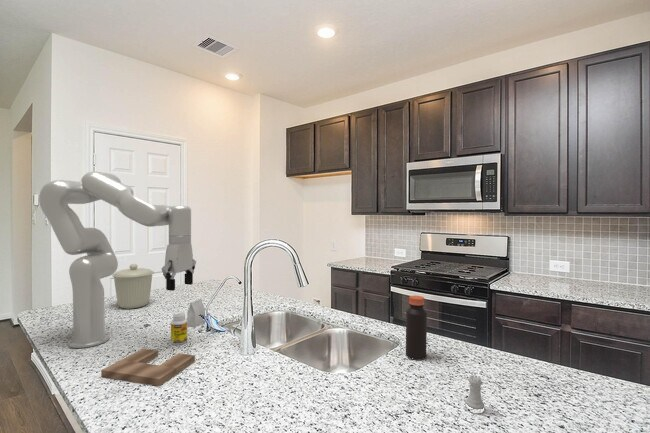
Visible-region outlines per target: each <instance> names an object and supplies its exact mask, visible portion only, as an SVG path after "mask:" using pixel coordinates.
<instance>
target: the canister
mask: <svg viewBox="0 0 650 433" xmlns="http://www.w3.org/2000/svg"><path fill="white" fill-rule="evenodd" d="M128 267H129V268H126V269H121V270H118V271H117V270H116V271H115V273H113V274H112V275H111V276H112V277H113V281H114V288H115V297H116V302H117V305H118V307H120V308H121V309H127V310H128V309H129V310H132V309H137V308H143V307H145V306H147V305H148V303H149V301H150V297H151V290H152V281H153V274H154V271H153V270H152V269H149V268H145V267H143V268H142V267H138V265H137V263H131V264H130V265H129V266H128Z"/></svg>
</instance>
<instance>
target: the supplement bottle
mask: <svg viewBox="0 0 650 433" xmlns="http://www.w3.org/2000/svg"><path fill="white" fill-rule="evenodd" d="M172 317H173V318H172V320H171V322H170V343H171V344H172V345H174V346H179V345H184V344H185V343H186V342H188V326H187V318H186V314H185V313H183V312H182V313H175V314H173V316H172Z"/></svg>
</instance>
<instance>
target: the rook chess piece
mask: <svg viewBox="0 0 650 433" xmlns="http://www.w3.org/2000/svg"><path fill="white" fill-rule="evenodd" d="M468 382H469V384H470V385H468V386H469V395H468V396H467V399H466V400H465V405H466V404H467V405H468V406H469V407H471V408H473V409H483V408H484V409H485V403H484V402H483V399H482V393H481V391H482V387H481V386H482V385H483V381H482V378H481V377H480V376H478V375H476V374H475V375H470V376H469V378H468Z"/></svg>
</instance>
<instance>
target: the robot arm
mask: <svg viewBox="0 0 650 433" xmlns="http://www.w3.org/2000/svg"><path fill="white" fill-rule="evenodd" d="M134 194H135V193H134V189H133V188H131V187H130V186H128V185H126V184H124V183H122V182H121V179H120V178H119V177H118V176H117V175H115V174H113V173H108V172H103V171H102V172H101V171H90V172H87V173H85V174H84V175H83V176H82V177H81V180H80V181H74V180H64V179H59V180H58V179H56V180H52V181H49V182H47V183H45V185H43V186H42V187H41V189H40V192H39V195H38V202H39V207H40V209H41V211H42V213H43V214H44V215H45V217H46V219H47V220H48V222H49V224H50V226H51V227H52V230H53V232H54V234H55V236H56V238H57V240H58V243H59V245H60V246H61V248H62V250H63V251H64V253H65V254H67V255H71V256H76V255H83V254H86V255H84V256H80V257H78V258H76V259H74V261H73V262H72V263H71V264H70V266H69V269H68V273H69V278H70V279H69V280H70V282H71V287H72V288H71V289H72V324H73V325H72V328H71V329H70V330H69V331H67V332H66V334H67V336H71V339H69V340H68V341H67V345H68V347H70V348H73V349H83V348H84V349H85V348H92V347H94V346H95V347H96V346H99V345H101V344H104V343H106V342H107V341H109V340H110V335H111V334H110V333H108V332H106V330H105V329H106V328H105V326H106V325H105V324H106V321H105V314H106V313H105V310H106V309H105V308H106V307H105V289H104V286H103V284H102V281H101V279H104V278H107V277H109V276H112V275H113V274H114V273H116V272H117V270H118V267H119V262H118V258H117V256H116V254H115V252H114V250H113V247H112V245H111V244H110V241H109V240H108V238H107V236H106V234H104V232H103V231H102V230H100V229H99V228H96V227H84V225H83V223H82V221H81V219H80V217H79V216H78V214H77V213H76V212H75V211H74V209H72V208H71V207H70V206H69V205H74V204H75V205H84V204H85V205H87V204H91V203H93V202H97V201H100V200H102V201H103V202H105V203H107V204H109V205H112V206H113V207H116V208H117V209H118V211H119V212H120V213H121V214H122V215H124V217H126V218H128V219H130V220H132V221H134V222H136V223H137V224H140V225H142V226H145V227H149V228H151V227H153V228H154V227H160V226H161V227H162V226H163V227H164V226H168V244H167V245H166V249H165V256H164V257H165V258H164V265H163V267H161V272H162V276H163V277H164V279H165V282H166V284H165V286H166V288H165V289H166V291H173V292H174V291H175V290H176V279H175V277H176V274H177V273H182V272H185V273H184V284H185V285H191V286H192V285H193V284H194V280H193V279H194V272H195V268H196V264H197V260H196V259H194V256H193V246H192V209H191V207H190V206H187V205H186V206H185V205H172V206H171V205H170V206H169V205H164V204H162V205H161V204H149V203H147V202H146V201H144V200H141V199H140V198H138V197H136V196H135V195H134Z"/></svg>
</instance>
